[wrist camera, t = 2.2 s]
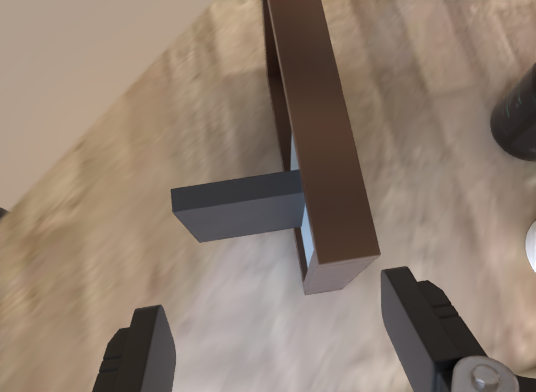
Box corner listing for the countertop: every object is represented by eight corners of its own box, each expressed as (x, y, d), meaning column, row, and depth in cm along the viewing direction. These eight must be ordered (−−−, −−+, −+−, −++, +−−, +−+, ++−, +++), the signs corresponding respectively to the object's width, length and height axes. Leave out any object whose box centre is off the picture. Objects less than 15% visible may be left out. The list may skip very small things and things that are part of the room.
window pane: (316, 276, 36) (332, 244, 24) (207, 294, 36) (166, 270, 24) (296, 170, 39) (301, 90, 27) (196, 185, 39) (154, 113, 27)
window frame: (342, 289, 37) (381, 255, 22) (304, 295, 37) (318, 265, 22) (297, 69, 44) (304, -73, 29) (266, 74, 44) (256, -66, 29)
